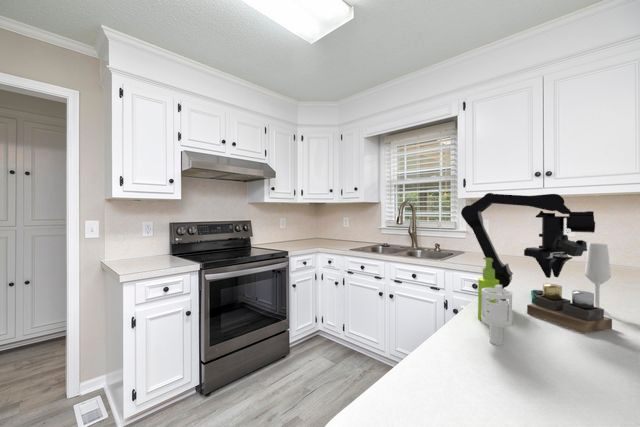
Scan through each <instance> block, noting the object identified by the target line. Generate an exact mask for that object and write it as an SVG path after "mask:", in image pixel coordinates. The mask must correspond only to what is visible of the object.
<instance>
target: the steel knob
mask: <svg viewBox="0 0 640 427" xmlns="http://www.w3.org/2000/svg"><path fill="white" fill-rule="evenodd" d="M571 293H572V294H571V296H572V297H571V299H572V300H571V303H572V304H573V305H575V306H578V307H583V308H594V306H595V293H594V292H590V291H585V290H576V289H575V290H571Z"/></svg>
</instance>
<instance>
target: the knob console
mask: <svg viewBox="0 0 640 427" xmlns="http://www.w3.org/2000/svg"><path fill="white" fill-rule="evenodd" d="M604 310H605V309H604V308H602V307H601V308H598V307H594V308H583V307H578V306H575V305H573V304H572V300H570V299H568V298H563V297H562V299H550V298H546V297H543V295H540V296H535V304H533V303H532V304H527V305H526V314H528V315H529V316H533V317H536V318H538V319H539V318H540V319H542V320H545V321H547V322H551V323H553V324H556V325H559V326H561V327H565V328H567V329H570V330H573V331H576V332H580V333H582V334H589V333H595V332H600V331H601V332H602V331H606V330H612V329H613V318H610V317H607V316H605V315H604Z"/></svg>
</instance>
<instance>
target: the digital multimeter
mask: <svg viewBox="0 0 640 427" xmlns="http://www.w3.org/2000/svg"><path fill="white" fill-rule="evenodd" d="M530 295H531V303H532V304H535V296H540V295H543V289H540V290H539V289H533V290H530Z"/></svg>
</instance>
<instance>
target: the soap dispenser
mask: <svg viewBox="0 0 640 427" xmlns="http://www.w3.org/2000/svg"><path fill="white" fill-rule="evenodd" d="M483 260H485V267H483V268H482V277H479V278H478V279H477V280H478V285H477V286H478V290H477V292H478V293H477V294H478V296H477V297H478V298H477V299H478V300H477V304H478V305H477V309H478V310H477V319H478V320H479V321H481V322H483V321H482V320H481V300H482V294H481V289H482V288H495V285H499V280H497V279H495V269H493V268H492V262H493V259H492V258H486V257H483ZM489 293H494V294H496V292H489ZM485 297H487V296H485ZM496 300H497V299H495V300H490V302H491V303H495V304H496Z"/></svg>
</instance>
